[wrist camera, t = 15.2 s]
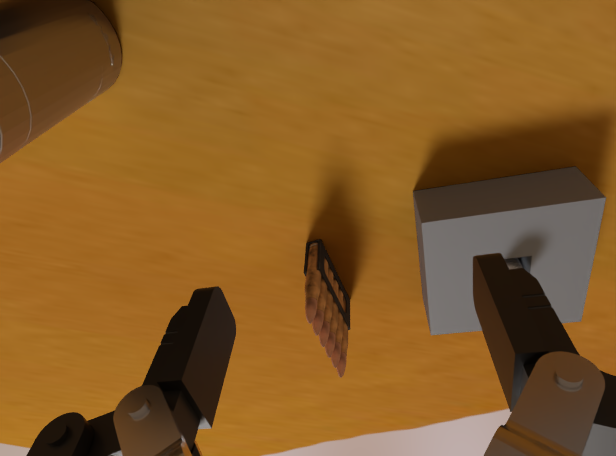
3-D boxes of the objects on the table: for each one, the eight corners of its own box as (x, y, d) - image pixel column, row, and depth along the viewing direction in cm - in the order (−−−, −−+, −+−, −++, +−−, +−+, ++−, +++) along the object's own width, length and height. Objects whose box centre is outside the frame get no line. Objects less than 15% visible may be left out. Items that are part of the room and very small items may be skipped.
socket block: (423, 298, 54) (430, 335, 49) (413, 191, 45) (421, 222, 41) (558, 283, 52) (581, 321, 47) (575, 166, 43) (605, 197, 38)
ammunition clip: (350, 300, 56) (352, 380, 46) (337, 304, 56) (335, 383, 46) (320, 238, 50) (315, 314, 40) (305, 242, 51) (297, 318, 41)
